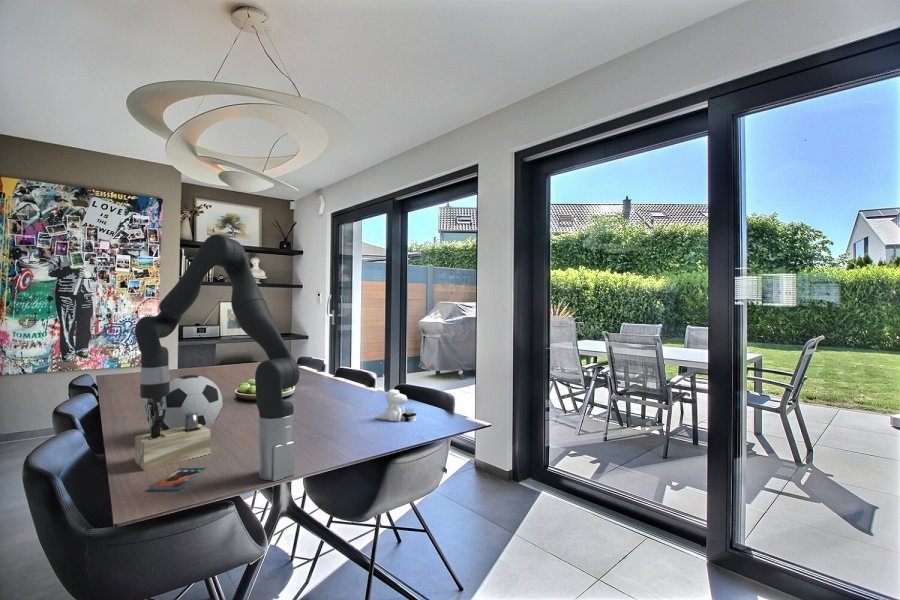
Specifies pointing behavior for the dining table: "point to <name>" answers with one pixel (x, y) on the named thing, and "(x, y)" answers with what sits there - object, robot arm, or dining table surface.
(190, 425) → the inner peg
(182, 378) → the soccer ball
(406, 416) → the figurine
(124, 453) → the dining table surface
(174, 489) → the smartphone
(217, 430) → the dining table surface
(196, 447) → the birch block
